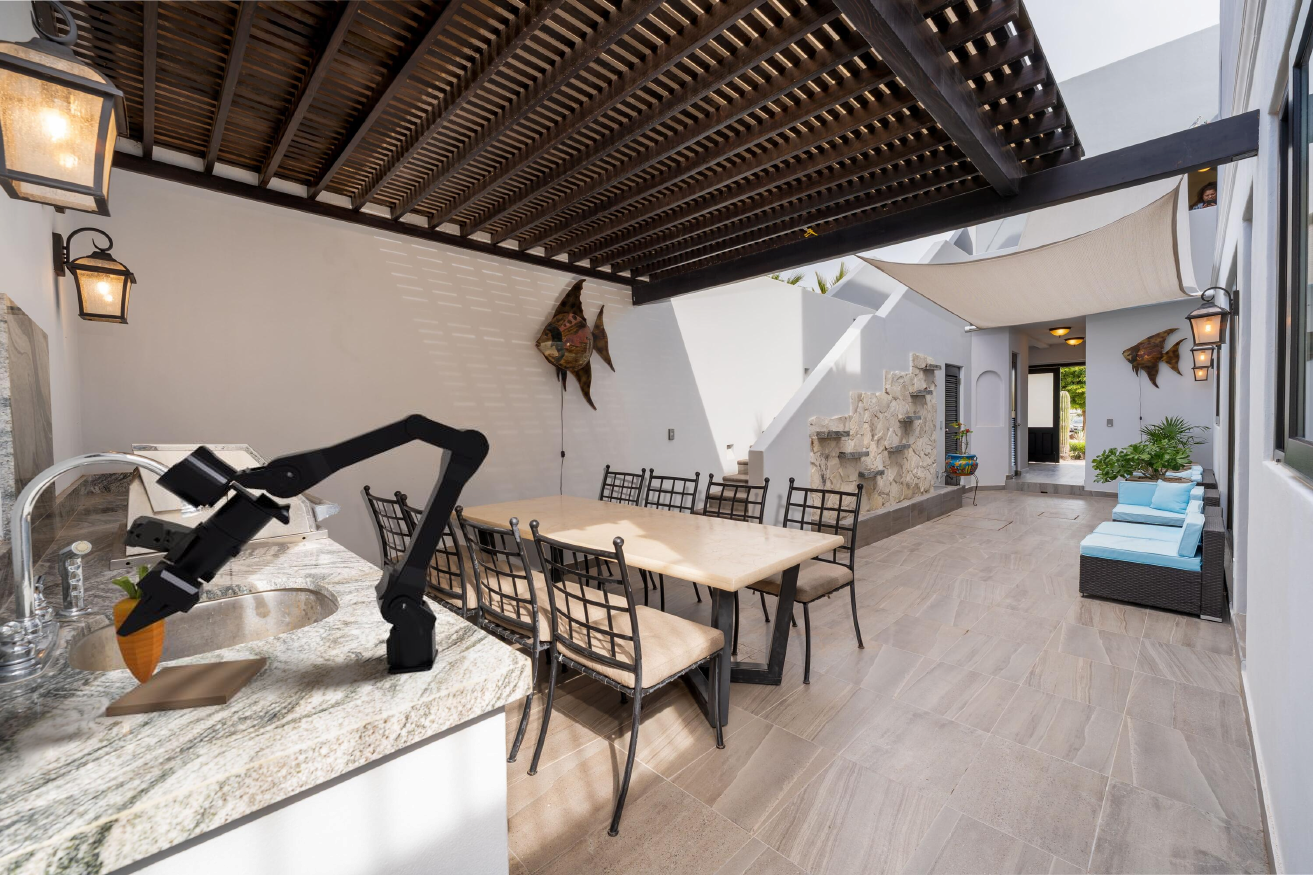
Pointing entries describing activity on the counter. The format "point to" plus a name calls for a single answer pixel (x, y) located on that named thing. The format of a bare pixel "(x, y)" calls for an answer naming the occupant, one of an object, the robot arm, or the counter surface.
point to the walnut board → (188, 687)
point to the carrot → (138, 633)
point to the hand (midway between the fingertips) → (126, 627)
